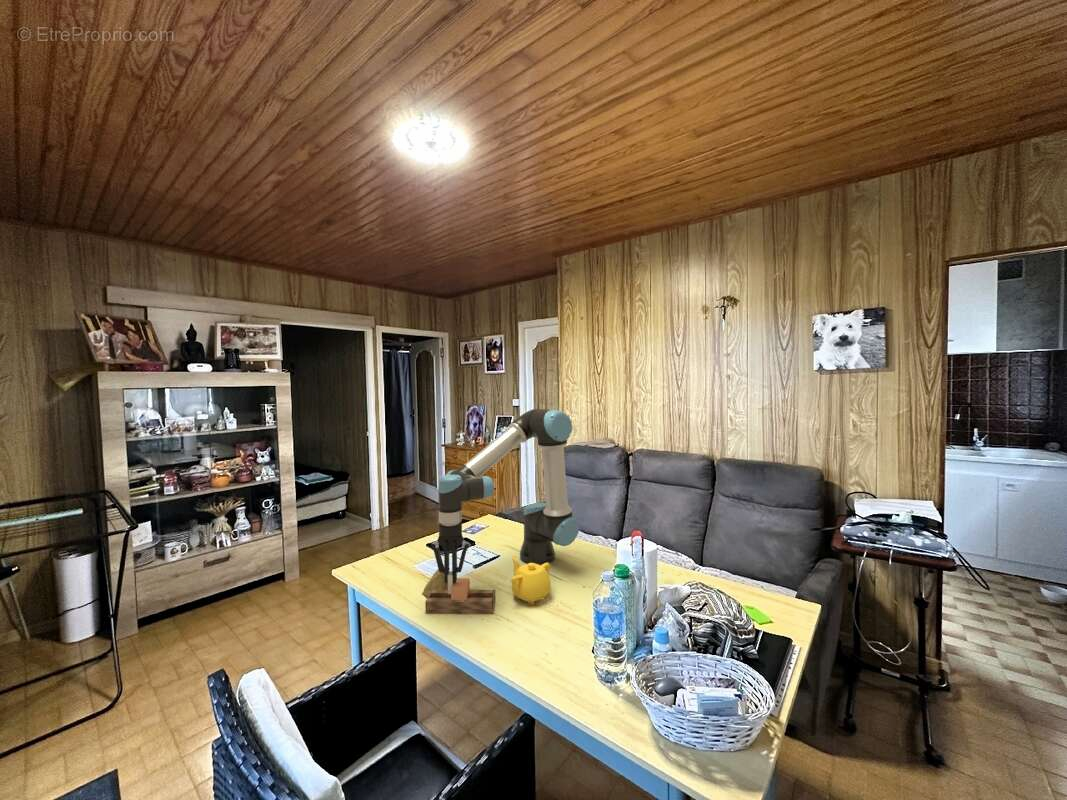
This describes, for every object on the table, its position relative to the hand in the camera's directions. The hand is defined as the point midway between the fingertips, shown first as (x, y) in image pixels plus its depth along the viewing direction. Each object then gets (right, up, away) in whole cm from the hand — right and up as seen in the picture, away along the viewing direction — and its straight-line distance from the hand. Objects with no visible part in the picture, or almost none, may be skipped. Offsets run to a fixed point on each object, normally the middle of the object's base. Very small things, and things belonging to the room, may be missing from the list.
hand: (450, 591), depth 139 cm
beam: (+4, -5, 0) cm, 6 cm away
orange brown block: (+3, -4, 0) cm, 5 cm away
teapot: (+26, -5, +8) cm, 27 cm away
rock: (-7, -5, +6) cm, 10 cm away
